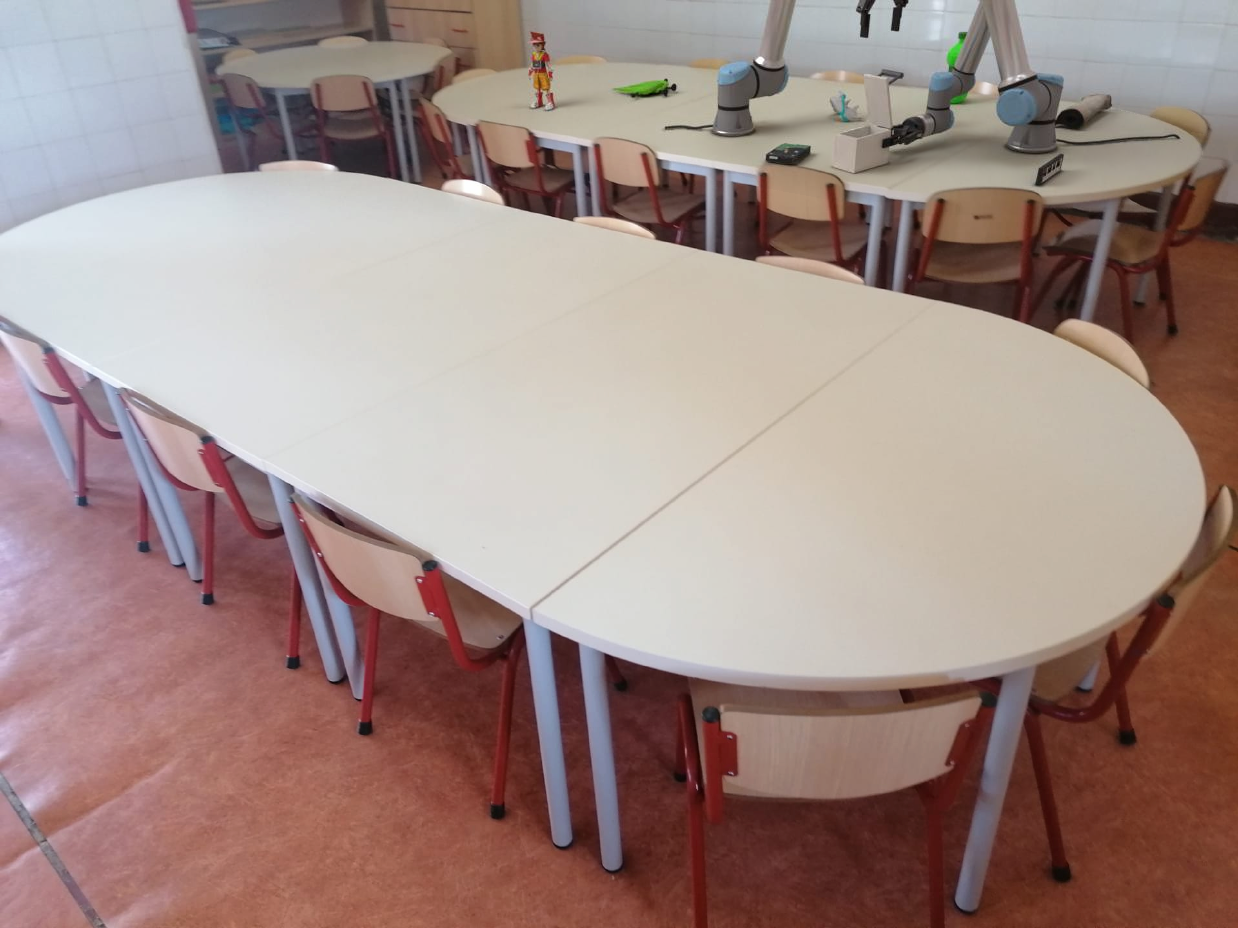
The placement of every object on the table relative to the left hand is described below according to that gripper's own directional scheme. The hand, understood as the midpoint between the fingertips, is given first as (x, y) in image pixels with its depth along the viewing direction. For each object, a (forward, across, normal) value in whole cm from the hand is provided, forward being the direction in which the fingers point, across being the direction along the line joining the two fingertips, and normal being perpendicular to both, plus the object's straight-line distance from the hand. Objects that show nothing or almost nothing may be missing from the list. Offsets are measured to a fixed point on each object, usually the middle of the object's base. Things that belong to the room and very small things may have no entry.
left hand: (879, 34), depth 274 cm
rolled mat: (+39, +93, -17) cm, 103 cm away
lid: (+20, +2, 0) cm, 20 cm away
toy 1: (+39, -38, +148) cm, 158 cm away
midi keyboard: (+39, +27, -48) cm, 68 cm away
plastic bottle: (+39, +83, +32) cm, 97 cm away
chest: (+39, -3, 0) cm, 39 cm away
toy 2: (+39, +8, +140) cm, 145 cm away
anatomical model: (+39, +37, +46) cm, 71 cm away
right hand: (+32, +1, 0) cm, 32 cm away
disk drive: (+39, -14, +22) cm, 47 cm away
